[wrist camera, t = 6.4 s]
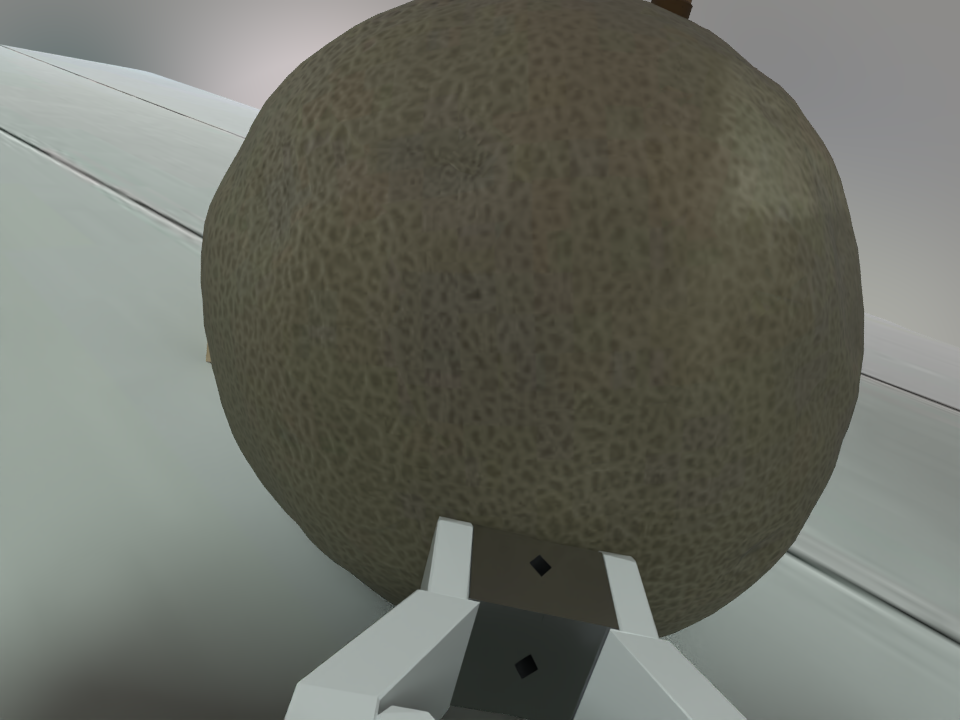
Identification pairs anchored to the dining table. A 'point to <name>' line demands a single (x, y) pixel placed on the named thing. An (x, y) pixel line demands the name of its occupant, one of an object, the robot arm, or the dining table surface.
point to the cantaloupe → (537, 295)
